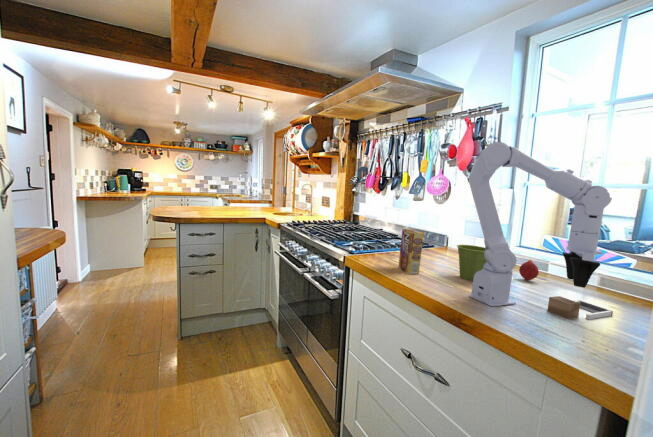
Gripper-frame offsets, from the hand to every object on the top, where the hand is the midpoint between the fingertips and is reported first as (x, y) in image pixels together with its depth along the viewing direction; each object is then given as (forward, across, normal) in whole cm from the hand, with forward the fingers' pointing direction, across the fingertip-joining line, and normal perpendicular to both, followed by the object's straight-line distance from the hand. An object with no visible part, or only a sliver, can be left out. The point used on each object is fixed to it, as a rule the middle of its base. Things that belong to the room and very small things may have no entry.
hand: (575, 282), depth 78 cm
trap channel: (+8, +4, -3) cm, 10 cm away
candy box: (+9, +10, +46) cm, 48 cm away
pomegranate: (+8, +29, +7) cm, 31 cm away
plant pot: (+9, +16, +25) cm, 31 cm away
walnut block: (+8, -3, +2) cm, 9 cm away
